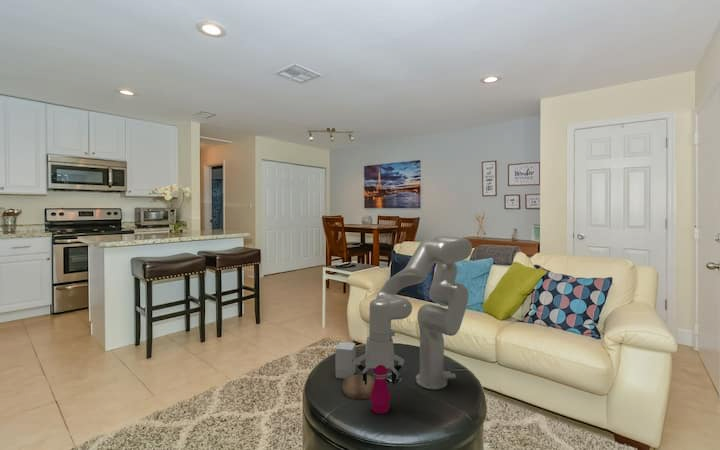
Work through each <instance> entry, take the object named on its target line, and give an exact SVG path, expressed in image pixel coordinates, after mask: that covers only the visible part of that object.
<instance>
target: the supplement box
mask: <svg viewBox="0 0 720 450" xmlns="http://www.w3.org/2000/svg"><path fill="white" fill-rule="evenodd" d="M334 351H335V355H334V356H335V357H334V358H335V366H334V367H335V378H336V379H343V380H344V379H346V378H347V377H349V376H352V375H355V373H356V368H357V367H356V366H357V365H356V363H355V359H356V358H357V357H356V343H355V342H344V341H343V342H341V341H340V342H338V344H337V345H336V347H335V349H334Z"/></svg>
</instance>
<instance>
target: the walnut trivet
mask: <svg viewBox="0 0 720 450" xmlns="http://www.w3.org/2000/svg"><path fill="white" fill-rule="evenodd" d="M374 382H375V377H374V376H373V375H372V376H371V375H369V374H367V384H366V385H365V381H363V373H362V374H358V373H357V374H354V375H352V376H349V377H347V378H346V379H344V378H343V380H342V387H341V388H342V394H343V395H345V396H346V397H347V398H350V399H353V400H367V399H370V394H371V391H372V388H373V386H374Z"/></svg>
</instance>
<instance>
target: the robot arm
mask: <svg viewBox="0 0 720 450" xmlns="http://www.w3.org/2000/svg"><path fill="white" fill-rule="evenodd" d="M472 245H473V244H472V243H471V241H470V240H469V239H468V238H466V237H459V236H457V237H456V236H448V235H438V236H436V237H434V238H433V239H425V240H422V241H421V242H420V243H419V245H418V246H417V248H416V249H415V250H414V253H413V254H412V256H411V257H410V259H409V261H408V263H407V264H406V266H405V267H404V268H403V269H402V270H400V271H399V272H397V273H396V274H394V275H393V276H391V277H390V278H389V279H387V280H386V282H384V283H383V285H382V287H381V288H380V289H379V292H378V293H377V295H376V298H375V299H372V300H371V301H370V303H369V315H368V317H369V318H368V319H369V321H368V322H369V323H368V324H369V325H368V326H369V327H368V337H366V340H365V341H366V343H365V352H364V354H362V355H360V356H358V357H356V359H355V363H356V366H357V369H359V371H361V373H362V374H363V381H365V385H366V384H367V375H368V370H369V369H372V368H376V367H377V366H378V365H383V366H385V367H386V368H387V369H388V368H389V369H390V370H391V385H393V386H394V385H395V382H396V381H397V374H398V372H399V371H400V370H401V369H402V367H403V365H404V364H405V359H404V358H403V357H401V356H399V355H397V354H395V348H394V339H393V337H395V336H396V332H395V331H392V323H391V322H392V321H393V320H394V321H395V320H397V321H398V320H403V319H406V318H408V317H409V316H410V315H411V314H412V311H413V305H412V303H411V301H409V300H408V299H407V298H405V297H401V296H399V295H396V294H397V293H398V292H400V290H402V289H404V288H406V287H409V286H413V285H417V284H420V283H423V282H424V281H425V280H426V278H427V277H428V275H429V273H430V271H431V269H432V267H433V266H434V264H436V268H435V272H434V275H433V278H432V282H431V283H430V288H429V291H428V296H429V299H430V300H431V301H433V302H435V303H437V304H440V305H441V304H442V305H444V306H447V308H445V307H443V306H439V305H435V304H430V303H426V304H423V305H421V307H419V309H418V311H417V315H416V316H417V324H418V329H419V330H418V331H419V373H417V374H416V376H415V382H416V384H417V385H419V386H420V387H421V388H424V389H428V390H441V389H444V388H445V387H447V386H448V380H449V379H451V380H452V379H453V380H454V379H455V380H456V379H457V377H456V375H457V374H456V373H452V372H451V370H447V371H445V369H444V366H445V363H444V362H445V360H444V359H445V358H444V356H445V339H444V335H446V336H449V337H451V336H455V335H457V333H458V332H459V330H460V328H461V325H462V323H463V319H464V316H465V312H466V311H467V310H466V309H467V306H468V302H469V290H468V288H467V287H466V286H465V285H464V284H462V283H460V282H456V279H457V275H458V267H457V264H456V263H459V262H462V261H465V260H467V259H468V258H469V257H470V256H471V254H472V252H473V246H472ZM362 361H364V362H365V364H364V365H363V364H361V362H362ZM395 361H397V362H398V363H397V364H396V365H395ZM389 369H388V370H389Z"/></svg>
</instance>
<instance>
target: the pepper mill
mask: <svg viewBox="0 0 720 450" xmlns="http://www.w3.org/2000/svg"><path fill="white" fill-rule="evenodd" d="M371 369H372V370H373V372H372V373H373V375H372V377H374V378H375V382H374V386H373V388H372V391H371V394H370V398H369V399H370V401H371V410H372V411H373V412H374V413H375V414H379V415H381V414H382V415H383V414H387V413H388V412H389V410H390V402H391V399H392V398H391V392H390V389H389V387H388V384H387V377H388V371H389V369H390V368H388V369H387V368H386V367H385V366H383V365H378V366H377V367H376V368H371Z"/></svg>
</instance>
